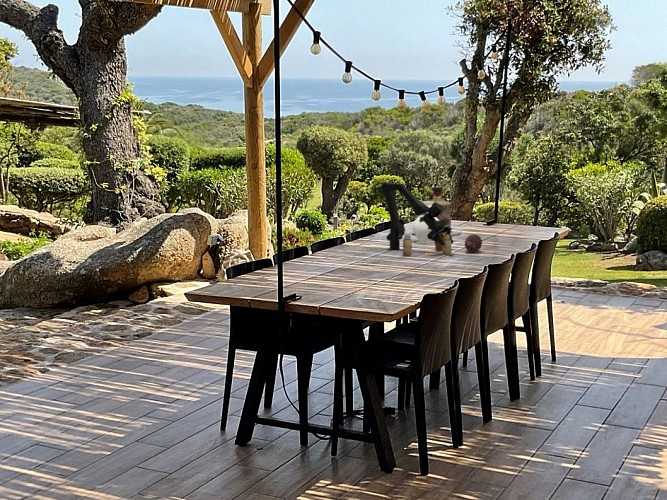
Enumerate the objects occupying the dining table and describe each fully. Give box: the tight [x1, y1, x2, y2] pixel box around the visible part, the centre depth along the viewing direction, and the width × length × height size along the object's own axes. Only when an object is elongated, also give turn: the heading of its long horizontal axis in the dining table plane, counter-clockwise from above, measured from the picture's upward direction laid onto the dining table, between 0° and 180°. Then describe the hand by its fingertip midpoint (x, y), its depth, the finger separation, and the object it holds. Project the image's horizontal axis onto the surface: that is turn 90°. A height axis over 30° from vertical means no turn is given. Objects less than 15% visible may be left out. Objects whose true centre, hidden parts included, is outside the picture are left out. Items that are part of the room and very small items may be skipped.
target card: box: [400, 252, 438, 258], centre depth 477 cm, size 11×22×1 cm, turn 114°
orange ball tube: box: [441, 234, 452, 257], centre depth 478 cm, size 5×5×12 cm
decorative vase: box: [411, 200, 439, 245], centre depth 526 cm, size 18×18×25 cm
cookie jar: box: [410, 185, 463, 236], centre depth 561 cm, size 25×25×32 cm
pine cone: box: [464, 234, 483, 253], centre depth 492 cm, size 18×10×10 cm, turn 164°
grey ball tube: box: [402, 233, 413, 258], centre depth 473 cm, size 5×5×12 cm
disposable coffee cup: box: [434, 235, 444, 252], centre depth 497 cm, size 10×10×12 cm
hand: (448, 244), depth 477 cm, fingers open, 9 cm apart
